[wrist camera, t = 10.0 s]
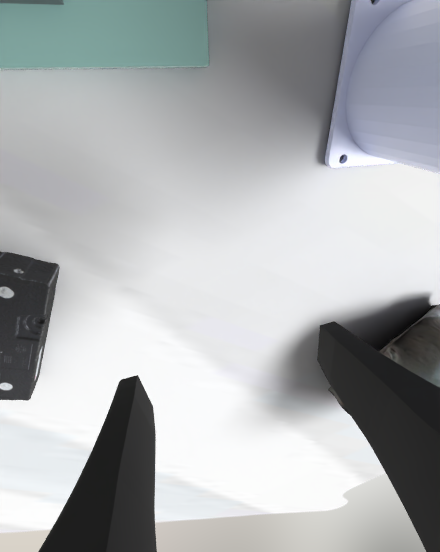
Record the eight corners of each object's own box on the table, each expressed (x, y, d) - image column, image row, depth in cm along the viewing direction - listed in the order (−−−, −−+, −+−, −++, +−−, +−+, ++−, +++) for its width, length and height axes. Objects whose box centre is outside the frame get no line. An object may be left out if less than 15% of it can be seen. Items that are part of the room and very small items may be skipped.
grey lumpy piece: (467, 283, 27) (637, 432, 20) (388, 335, 36) (486, 446, 30) (357, 350, 21) (545, 586, 15) (298, 390, 31) (395, 542, 24)
